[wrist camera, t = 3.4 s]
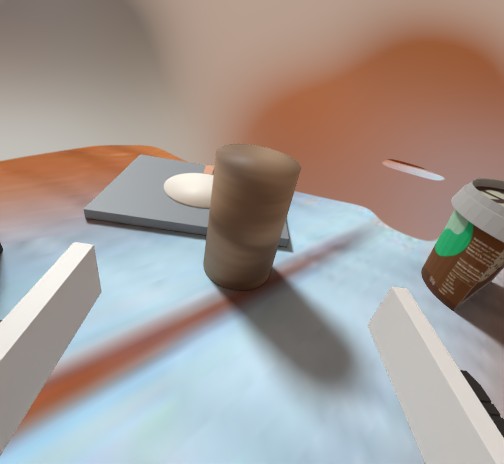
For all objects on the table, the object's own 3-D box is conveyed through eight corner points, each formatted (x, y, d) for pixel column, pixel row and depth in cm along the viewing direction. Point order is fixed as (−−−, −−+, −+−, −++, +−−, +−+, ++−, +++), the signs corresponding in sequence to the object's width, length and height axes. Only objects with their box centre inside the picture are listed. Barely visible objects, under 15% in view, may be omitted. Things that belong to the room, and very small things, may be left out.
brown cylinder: (268, 250, 28) (294, 152, 22) (271, 294, 23) (307, 183, 17) (208, 241, 27) (220, 138, 22) (198, 285, 22) (211, 166, 17)
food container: (441, 246, 35) (493, 171, 29) (495, 278, 31) (567, 198, 25) (385, 271, 28) (439, 181, 23) (445, 316, 24) (527, 220, 19)
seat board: (275, 183, 42) (277, 176, 41) (286, 246, 29) (289, 237, 28) (140, 161, 40) (140, 153, 39) (85, 217, 27) (83, 207, 26)
